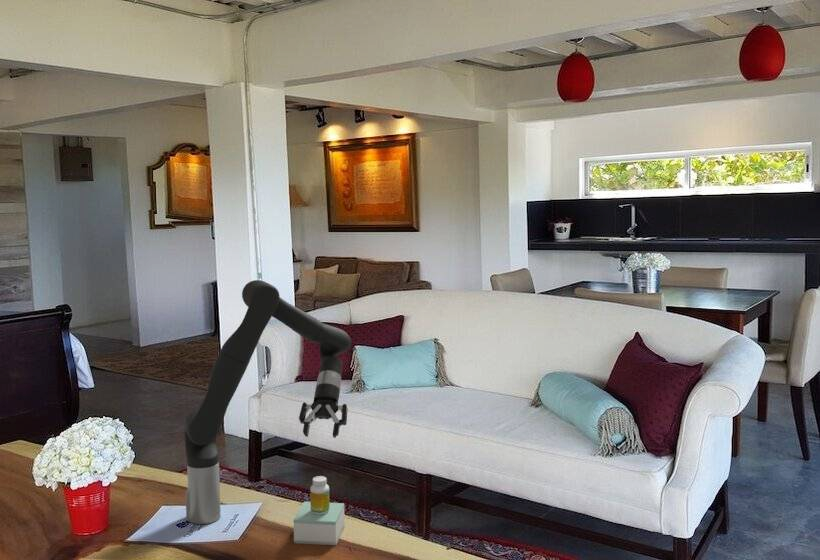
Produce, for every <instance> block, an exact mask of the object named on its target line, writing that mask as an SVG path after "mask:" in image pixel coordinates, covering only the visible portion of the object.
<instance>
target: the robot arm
mask: <svg viewBox="0 0 820 560" xmlns="http://www.w3.org/2000/svg"><path fill="white" fill-rule="evenodd" d="M241 298H242V300H243V303H244V304H245V305H246V307H247V310H246V313H245V315H244V317H243V319H242V321H241V323H240V324H239V326H238V327H237V329H236V330H235V331H234V332H232V334H231V335H230V336H229V337H228V338H227V340H226V341H225V342H224V343H223V345H222V347H221V348H220V350H219V353H218V355H217V357H216V359H215V361H214V364H213V366H212V370H211V372H210V373H211V374H210V377H209V381H208V387H207V391H206V394H205V397H204V399H203V401H202V404H201V405H200V407H199V408H195V409H193V410H191V411H190V412H189V413H188V414H187V416H186V417H185V420H184V439H185V440H184V441H185V456H186V465H187V466H186V469H187V470H186V471H187V473H186V474H187V488H186V489H185V517H186V520H185V521H186V522H191V524H194V525H195V524H196V525H206V524H211V523H214V522H216V521H218V520H219V519H220V518H221V486H220V485H221V484H220V483H221V480H220V456H219V455H220V453H219V449H218V442H217V437H218V436H219V434H220V430H221V428H222V425H223V422H224V418H225V416H226V414H227V413H226V412H227V409H228V407H229V405H230V402H231V401H232V399H233V397H234V395H235V393H236V392H237V389H238V387H239V385H240V382H241V381H242V379H243V376H244V374H245V373H246V370H247V368H248V366H249V364H250V361H251V359H252V356H253V354H254V352H255V350H256V348H257V346H258V344H259V341H260V339H261V337H262V335H263V333H264V331H265V328H266V327H267V325H268V324H269V322H270V320H271V319H272V317H273V318H274V319H275V320H278V321H279V322H281V323H282V324H284V325H285V326H287V327H288V328H289V329H291V330H292V331H294V332H295V333H296V334H298V335H299V336H301V337H303V338H304V339H306V340H308V341H309V342H311V343H313V344H319V347H318V349H319V350H318V351H319V358H320V359H319V360H320V367H319V372H318V373H319V374H318V377H317V380H316V385H315V390H314V396H313V401H312V403H311V404H307V402H302V405H301V408H300V412H299V416H298V420H299V423H300V424H303V428H302V433H303V435H304V437H307V438H308V437H309V434H310V427H311V424H312V423H313V422H315V421H316V420H317V419H318V420H330V419H331V420H332V422H333V423H334V424H333V429H332V438H334V439H336V438H337V436H339V433H340V427H341V426H346V425H347V422H348V410H349V409H348V406H347V404H346V403H343V404H342V405H339V398H340V393H341V389H342V388H341V386H342V373H343V367H344V366H343V360H342V359H341V358H339V357H338V356H339V355H340V354H344V353H345V352H347V351H349V350H350V348H351V346H352V340H351V337H350V335H349V333H347V332H346V331H345V330H343V329H341V328H339V327H335V326H332V325H331V324H330V325H329V324H325V323H324V322H322V321H320V320H319V319H317V318H316V317H315V316H314V315H311V314H310V313H307V312H306V311H304V310H302V309H300V308H298V307H296V306H294V305H292V304H291V303H290V302H288V301H286V300H284V299H283V298H282V297H280V293H279V290H278V289H277V287H276V286H274V285H272V284H270V283H268V282H266V281H264V280H261V279H260V280H258V279H257V280H254V279H253V280H251V281H249V282H247V283H246V284H245V285H244V286H243V288H242V292H241ZM310 410H312V411H311V412H310V413H309V411H310ZM338 411H340V413H341V419H339V418H338V417H337V415H336V413H337V412H338ZM307 413H309V414H308V416H307Z"/></svg>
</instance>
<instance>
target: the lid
mask: <svg viewBox="0 0 820 560" xmlns="http://www.w3.org/2000/svg"><path fill="white" fill-rule="evenodd" d="M329 505H330V506H329V507H330V508H329V512H328V513H326V514H321V515H317V514H313V513H312V512H311V501H303V503H302V505H301V506H300V508H299V510H298V511H297V513H296V515H295V517H294V518H293V524H294V523H315V524H335V525H336V523H337V521H338V519H339V516H340V514H341V512H342V510H343V508H344V509H345V503H343V502H341V503H340V502H329Z"/></svg>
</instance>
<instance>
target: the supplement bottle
mask: <svg viewBox="0 0 820 560" xmlns="http://www.w3.org/2000/svg"><path fill="white" fill-rule="evenodd" d="M327 483H328V479H327V477H325V476H323V475H319V476H318V475H317V476H314V477H312V485H311V486H310V491H309V492H310V493H309V495H310V497H309V499H310V502H311V512H312V513H313V514H317V515H321V514H326V513H328V512H329V508H330V507H329V506H330V505H329V503H330V486H329V484H327Z"/></svg>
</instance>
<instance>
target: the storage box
mask: <svg viewBox="0 0 820 560" xmlns="http://www.w3.org/2000/svg"><path fill="white" fill-rule="evenodd" d="M344 528H345V507H344V508H343V510H342V512H341V514H340V516H339V519H338V521H337V523H336V525H335V524H315V523H294V522H293V544H300V545H301V544H304V545H319V546H320V545H322V546H326V545H327V546H337V545H338V542H339V539H340V537H341V535H342V533H343V531H344Z"/></svg>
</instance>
